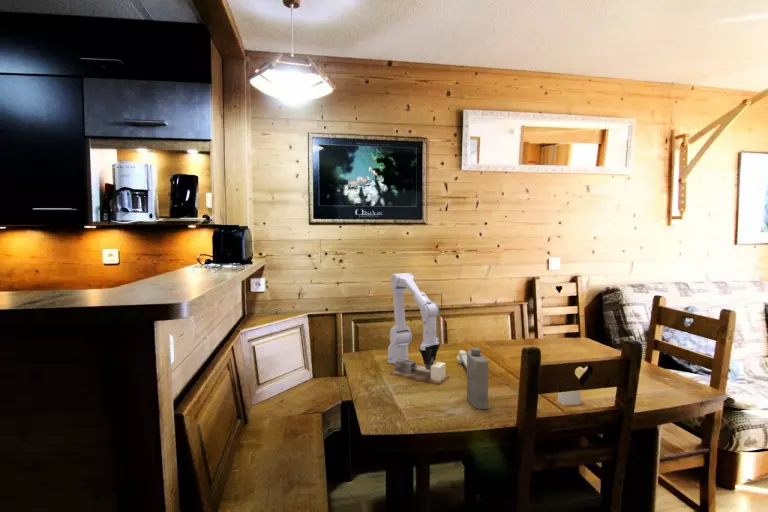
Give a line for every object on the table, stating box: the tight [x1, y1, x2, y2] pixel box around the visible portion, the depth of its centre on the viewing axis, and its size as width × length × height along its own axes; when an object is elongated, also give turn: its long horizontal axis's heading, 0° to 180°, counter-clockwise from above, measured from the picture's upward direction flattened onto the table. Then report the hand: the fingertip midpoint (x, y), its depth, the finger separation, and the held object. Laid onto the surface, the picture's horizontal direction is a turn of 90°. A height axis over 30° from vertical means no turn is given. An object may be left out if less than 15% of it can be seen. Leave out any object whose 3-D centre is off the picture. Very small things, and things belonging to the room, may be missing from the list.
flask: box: [466, 347, 489, 410], centre depth 146 cm, size 15×6×20 cm, turn 2°
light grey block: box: [557, 390, 582, 407], centre depth 145 cm, size 4×7×10 cm, turn 99°
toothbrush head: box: [456, 349, 467, 369], centre depth 181 cm, size 5×7×25 cm
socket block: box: [431, 361, 447, 381], centre depth 169 cm, size 4×7×6 cm, turn 149°
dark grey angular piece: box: [412, 356, 435, 374], centre depth 172 cm, size 14×3×8 cm, turn 59°
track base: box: [389, 359, 450, 386], centre depth 174 cm, size 24×10×5 cm, turn 59°
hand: (429, 362), depth 171 cm, fingers open, 6 cm apart
